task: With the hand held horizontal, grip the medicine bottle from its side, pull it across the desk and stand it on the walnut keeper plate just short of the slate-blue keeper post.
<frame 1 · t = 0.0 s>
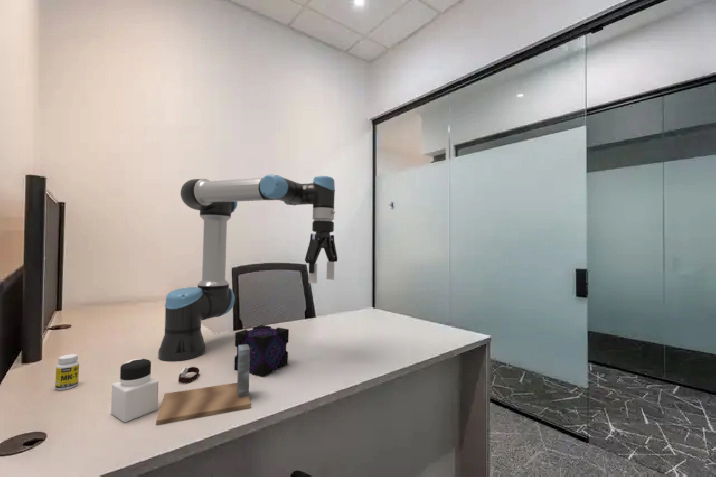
hand: (321, 281, 113), 28 cm above the table, tool pointing down, fingers open, 13 cm apart
medicine bottle: (134, 412, 77), on the table
supplement bottle: (66, 387, 89), on the table
keeper: (206, 402, 82), on the table
watch: (188, 380, 96), on the table
energy cube: (261, 368, 106), on the table
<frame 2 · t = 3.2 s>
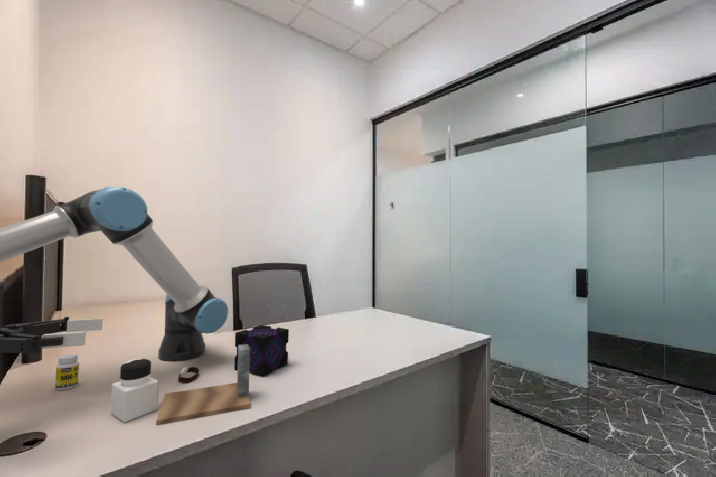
hand: (94, 330, 73), 20 cm above the table, tool horizontal, fingers open, 13 cm apart
nothing on the table moved.
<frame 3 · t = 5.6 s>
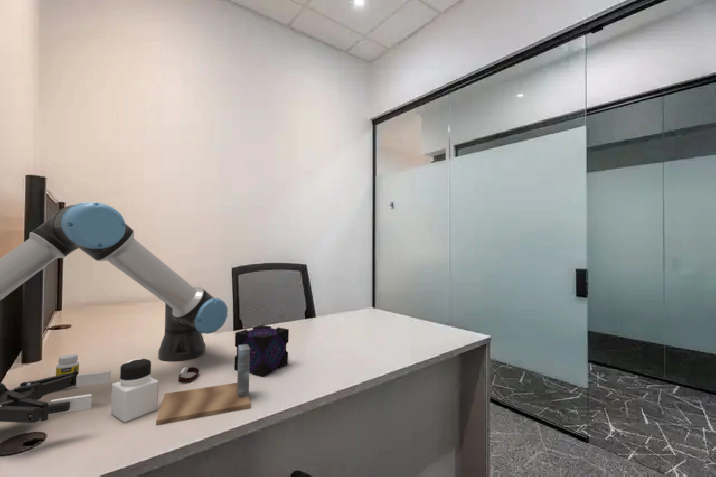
hand: (101, 387, 74), 7 cm above the table, tool horizontal, fingers open, 13 cm apart
nothing on the table moved.
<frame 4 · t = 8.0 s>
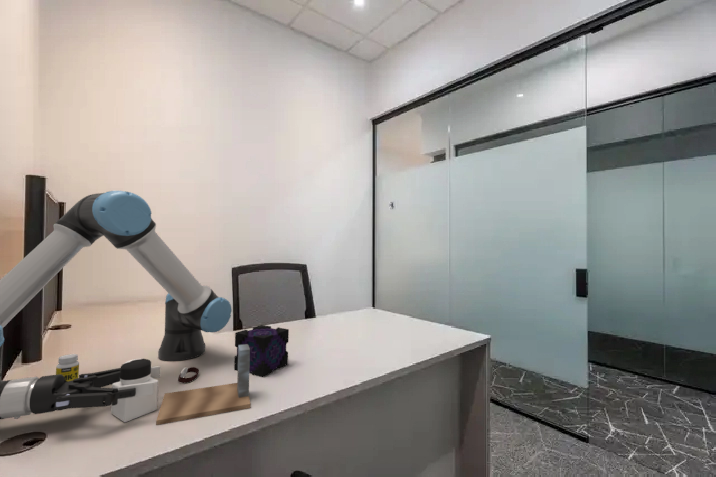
hand: (157, 379, 79), 7 cm above the table, tool horizontal, fingers closed on medicine bottle, 10 cm apart
medicine bottle: (134, 412, 77), on the table, touching gripper
everything else where it was.
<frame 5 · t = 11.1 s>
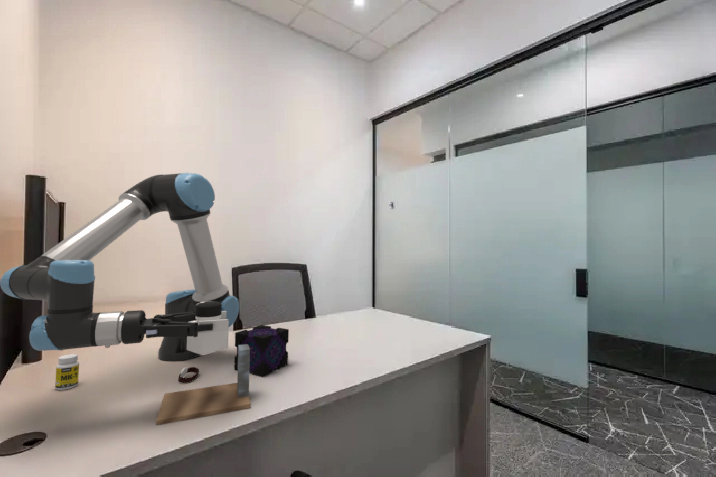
hand: (227, 320, 84), 21 cm above the table, tool horizontal, fingers closed on medicine bottle, 10 cm apart
medicine bottle: (207, 350, 82), point 13 cm above the table, touching gripper
everything else where it was.
when the fingers open (8 cm above the table, at t = 14.3 s): medicine bottle stays where it is, resting on keeper.
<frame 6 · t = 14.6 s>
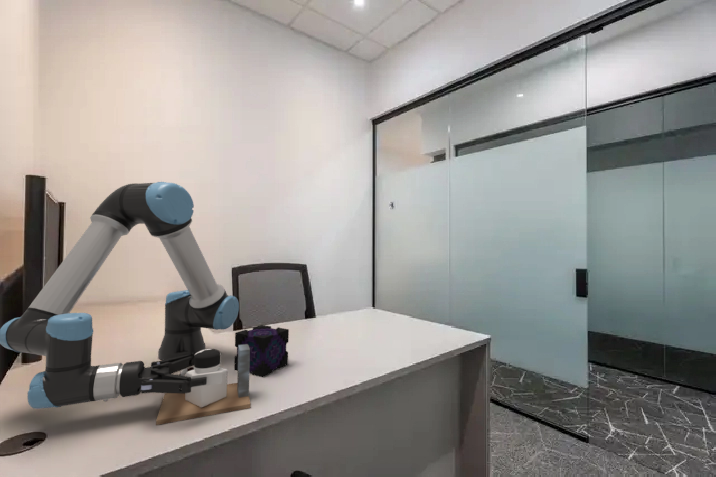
hand: (221, 367, 83), 8 cm above the table, tool horizontal, fingers open, 13 cm apart
medicine bottle: (206, 399, 82), point 1 cm above the table, touching keeper
everything else where it was.
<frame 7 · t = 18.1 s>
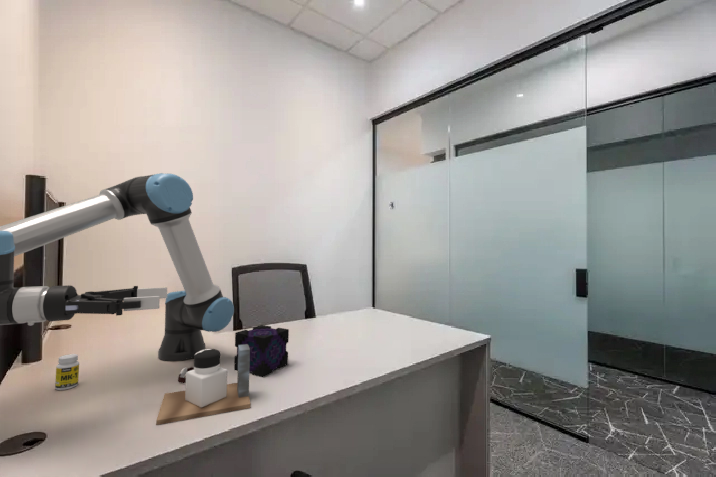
hand: (163, 297, 78), 27 cm above the table, tool horizontal, fingers open, 13 cm apart
nothing on the table moved.
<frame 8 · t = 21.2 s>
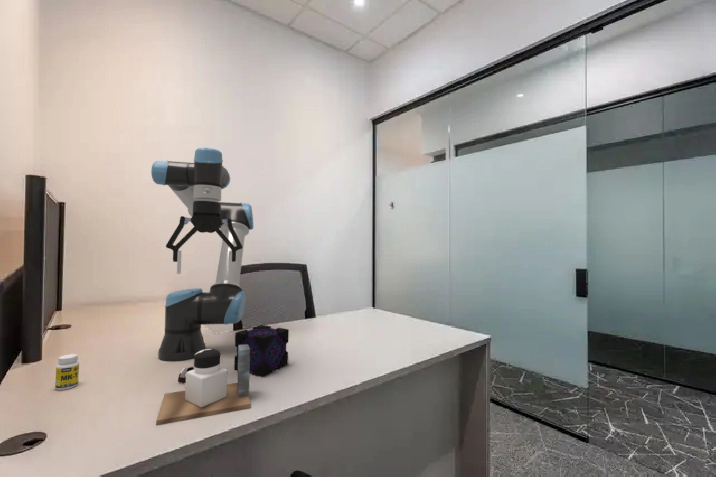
hand: (205, 273, 95), 32 cm above the table, tool pointing down, fingers open, 13 cm apart
nothing on the table moved.
at the end: medicine bottle inside the target area on the keeper (0.1 cm from its centre), point 0.8 cm above the keeper's base; medicine bottle tilted 0°; the gripper is holding nothing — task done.
